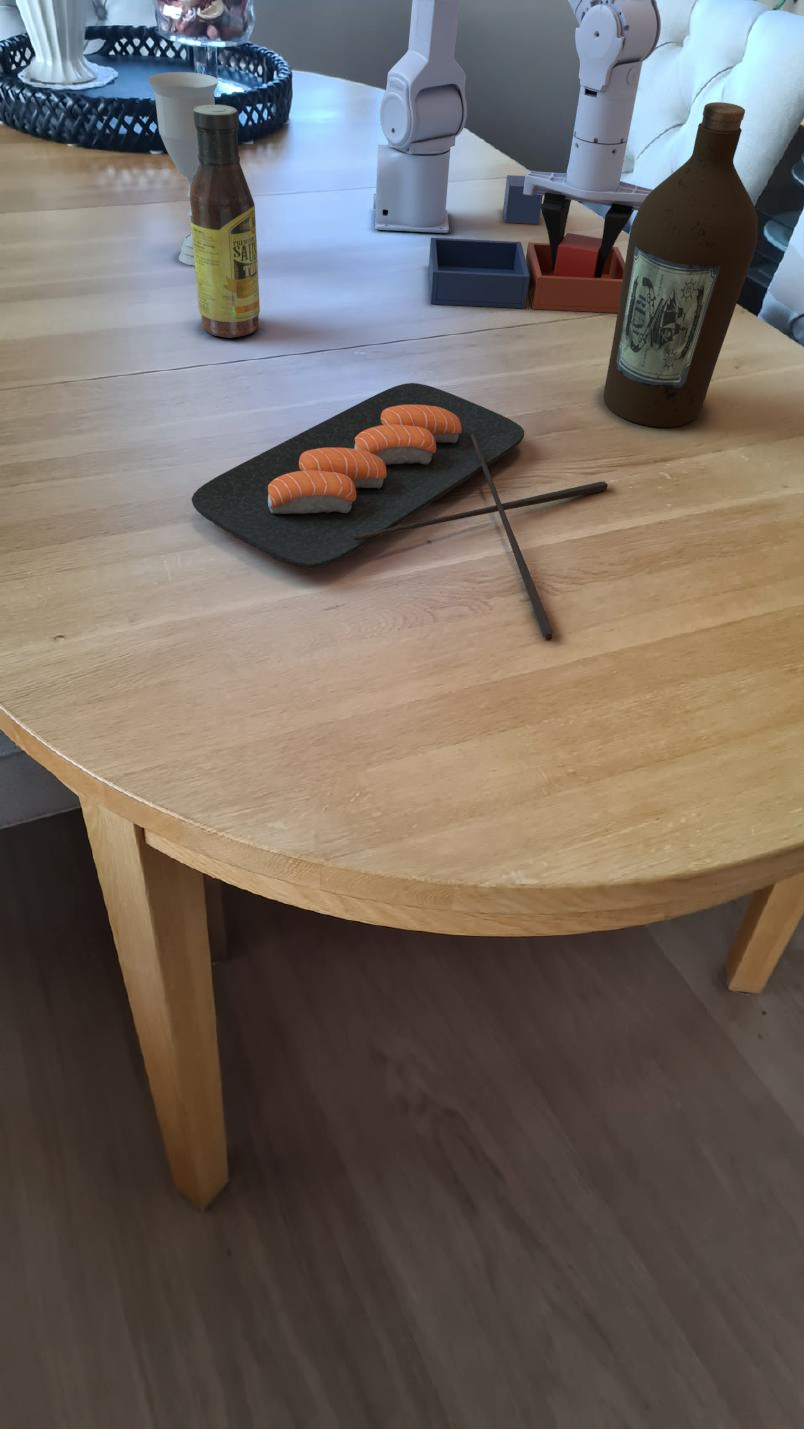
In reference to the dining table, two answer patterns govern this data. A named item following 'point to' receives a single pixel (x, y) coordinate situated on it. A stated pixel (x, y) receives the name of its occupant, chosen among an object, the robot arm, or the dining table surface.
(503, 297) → the blue bin
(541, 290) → the red bin
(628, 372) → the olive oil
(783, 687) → the dining table surface
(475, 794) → the dining table surface
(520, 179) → the blue block
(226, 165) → the sauce bottle
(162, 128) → the chalice
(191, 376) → the dining table surface
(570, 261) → the red block
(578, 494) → the sushi plate
